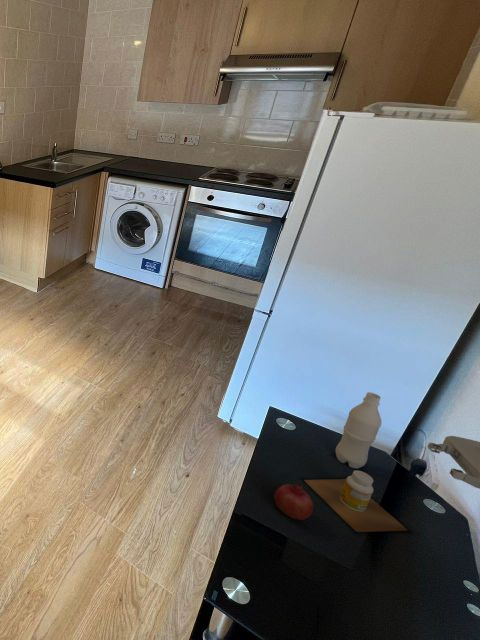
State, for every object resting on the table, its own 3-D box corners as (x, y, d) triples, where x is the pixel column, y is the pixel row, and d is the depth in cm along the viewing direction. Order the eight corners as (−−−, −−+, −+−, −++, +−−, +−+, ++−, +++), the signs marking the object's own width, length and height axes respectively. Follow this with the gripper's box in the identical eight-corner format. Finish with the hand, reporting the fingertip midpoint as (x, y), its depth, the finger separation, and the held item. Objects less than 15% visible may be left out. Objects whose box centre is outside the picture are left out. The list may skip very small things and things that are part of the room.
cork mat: (406, 532, 105) (407, 529, 105) (355, 534, 104) (356, 531, 104) (348, 481, 120) (349, 478, 120) (303, 482, 119) (304, 479, 119)
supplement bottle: (340, 491, 115) (350, 464, 112) (365, 503, 112) (377, 476, 109) (338, 503, 112) (349, 475, 109) (364, 516, 108) (376, 488, 105)
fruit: (299, 533, 104) (310, 503, 101) (265, 508, 111) (274, 479, 108) (314, 519, 108) (324, 490, 105) (280, 496, 114) (289, 468, 112)
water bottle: (331, 450, 132) (355, 385, 124) (361, 460, 128) (387, 393, 120) (334, 464, 126) (359, 396, 119) (365, 475, 122) (393, 406, 115)
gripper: (550, 526, 87) (461, 501, 93) (485, 460, 105) (414, 442, 110) (564, 504, 85) (472, 480, 91) (496, 441, 103) (422, 423, 109)
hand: (440, 459), depth 101 cm, fingers open, 8 cm apart
